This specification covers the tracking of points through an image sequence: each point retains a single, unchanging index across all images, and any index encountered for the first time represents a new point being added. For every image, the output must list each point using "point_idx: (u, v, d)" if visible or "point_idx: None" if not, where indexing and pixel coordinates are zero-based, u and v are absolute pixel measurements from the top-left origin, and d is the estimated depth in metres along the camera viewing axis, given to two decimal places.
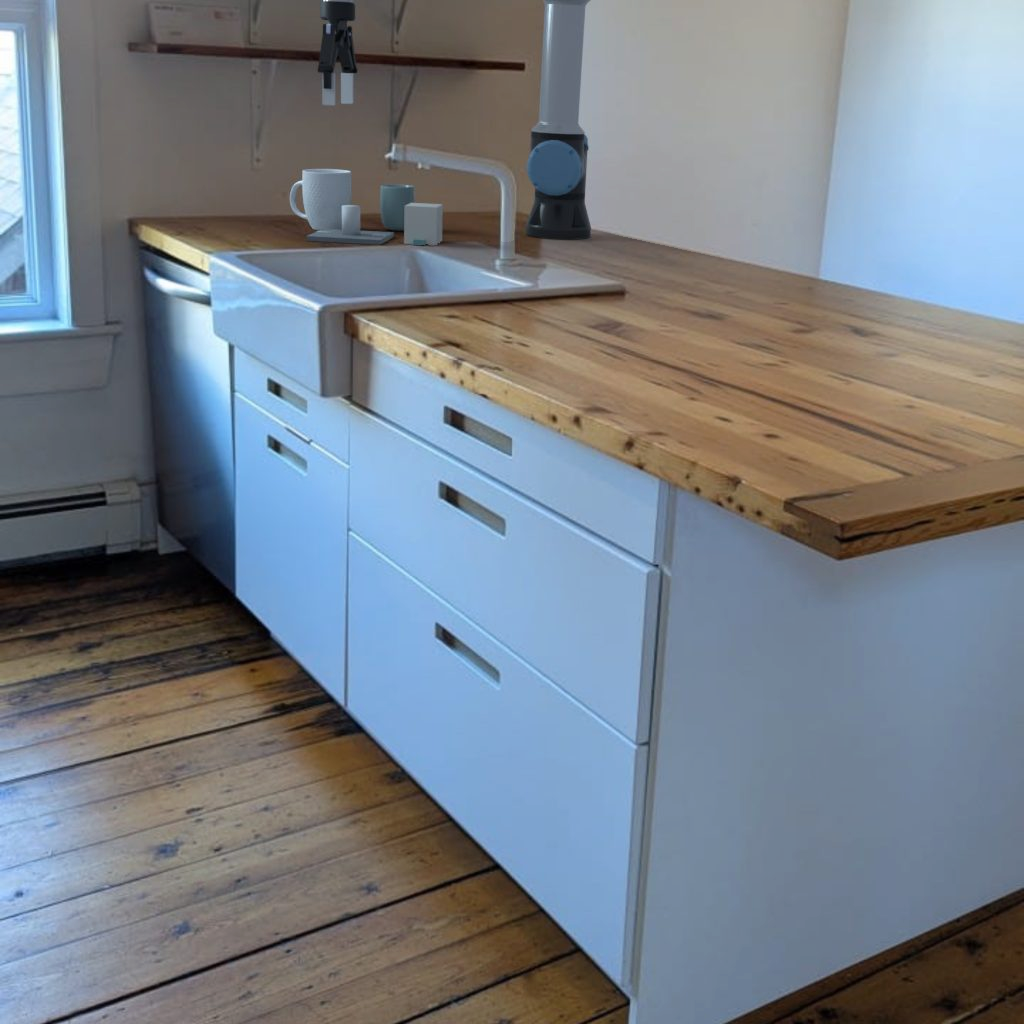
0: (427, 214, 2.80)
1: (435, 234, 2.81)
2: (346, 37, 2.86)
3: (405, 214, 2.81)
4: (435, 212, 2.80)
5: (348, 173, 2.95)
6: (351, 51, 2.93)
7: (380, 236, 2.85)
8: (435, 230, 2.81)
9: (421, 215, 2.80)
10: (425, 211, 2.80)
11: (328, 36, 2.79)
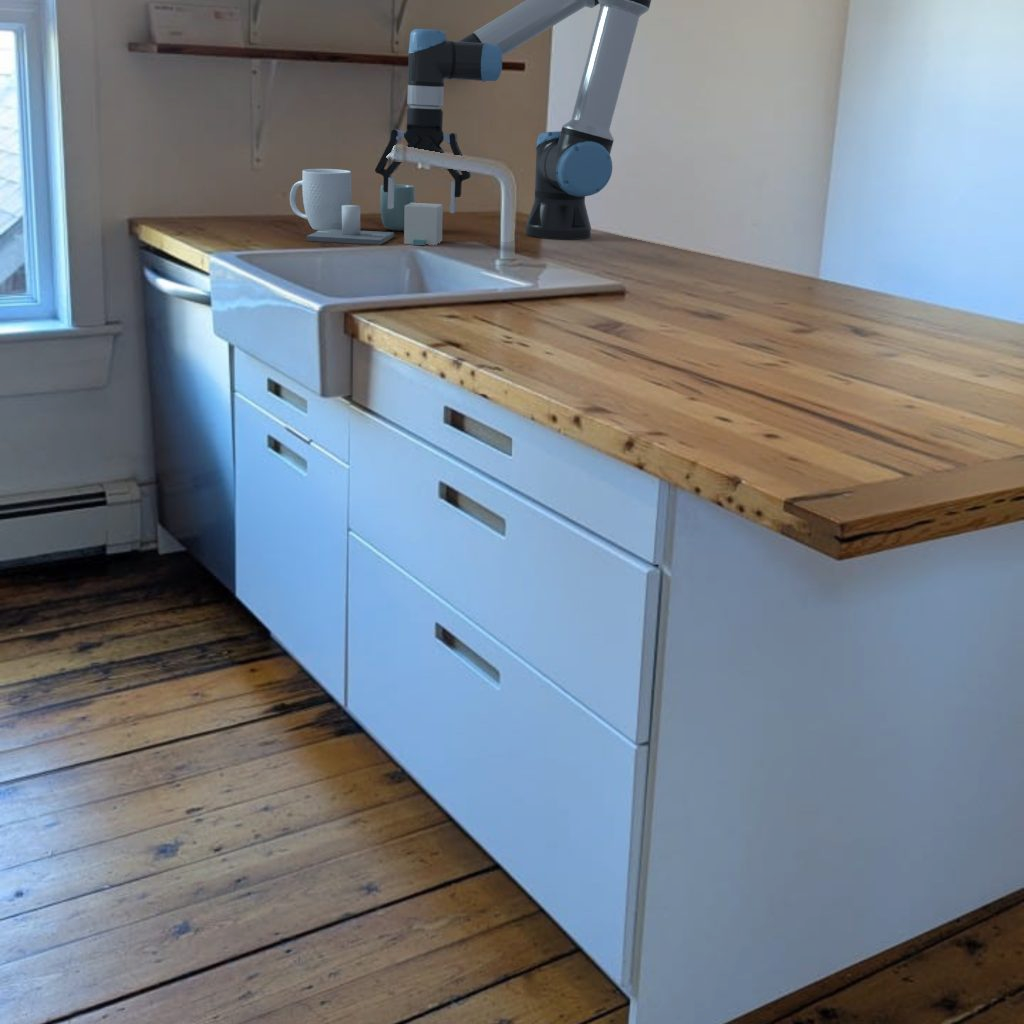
0: (427, 214, 2.80)
1: (435, 234, 2.81)
2: (428, 144, 2.77)
3: (405, 214, 2.81)
4: (435, 212, 2.80)
5: (348, 173, 2.95)
6: None
7: (380, 236, 2.85)
8: (435, 230, 2.81)
9: (421, 215, 2.80)
10: (425, 211, 2.80)
11: None
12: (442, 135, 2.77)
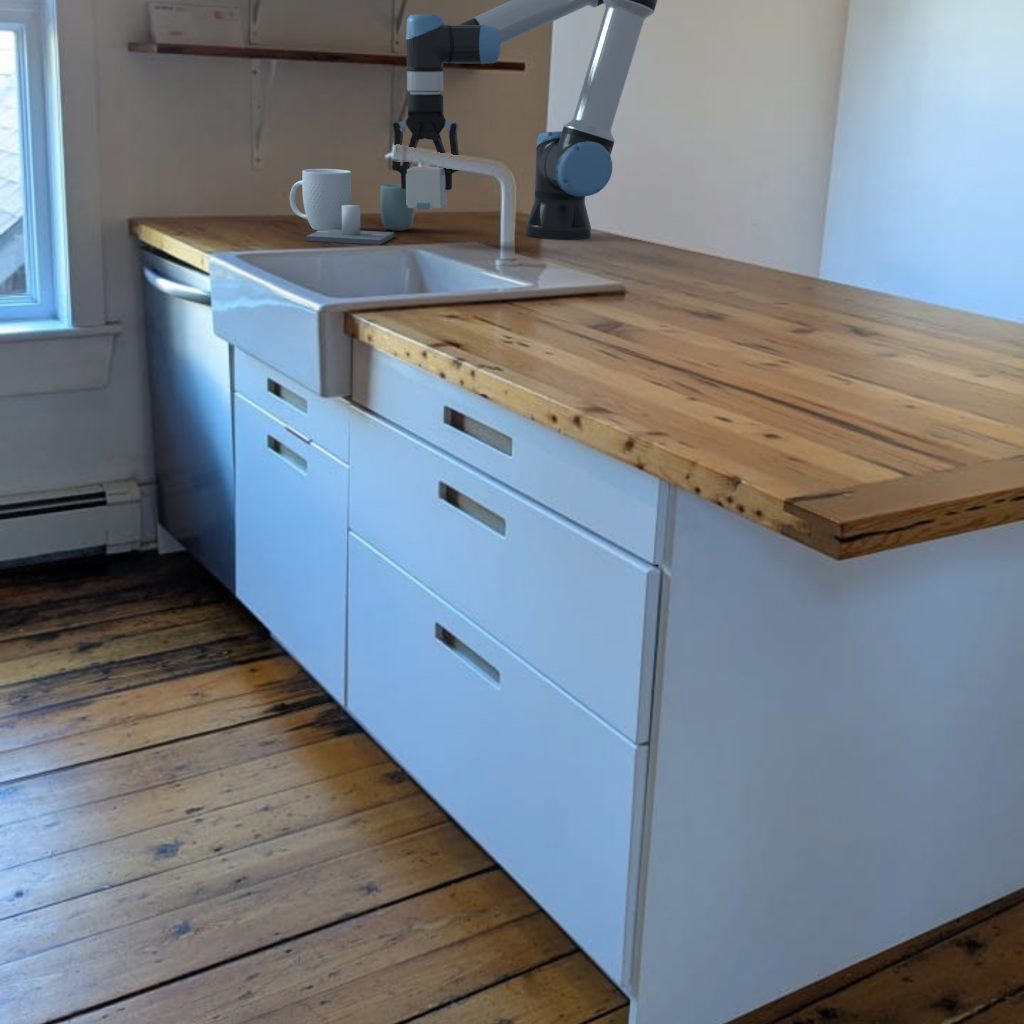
0: (430, 177, 2.78)
1: (438, 197, 2.79)
2: None
3: (408, 178, 2.78)
4: (438, 175, 2.77)
5: (348, 173, 2.95)
6: None
7: (380, 236, 2.85)
8: (438, 193, 2.79)
9: (424, 178, 2.78)
10: (428, 174, 2.78)
11: None
12: (444, 122, 2.76)
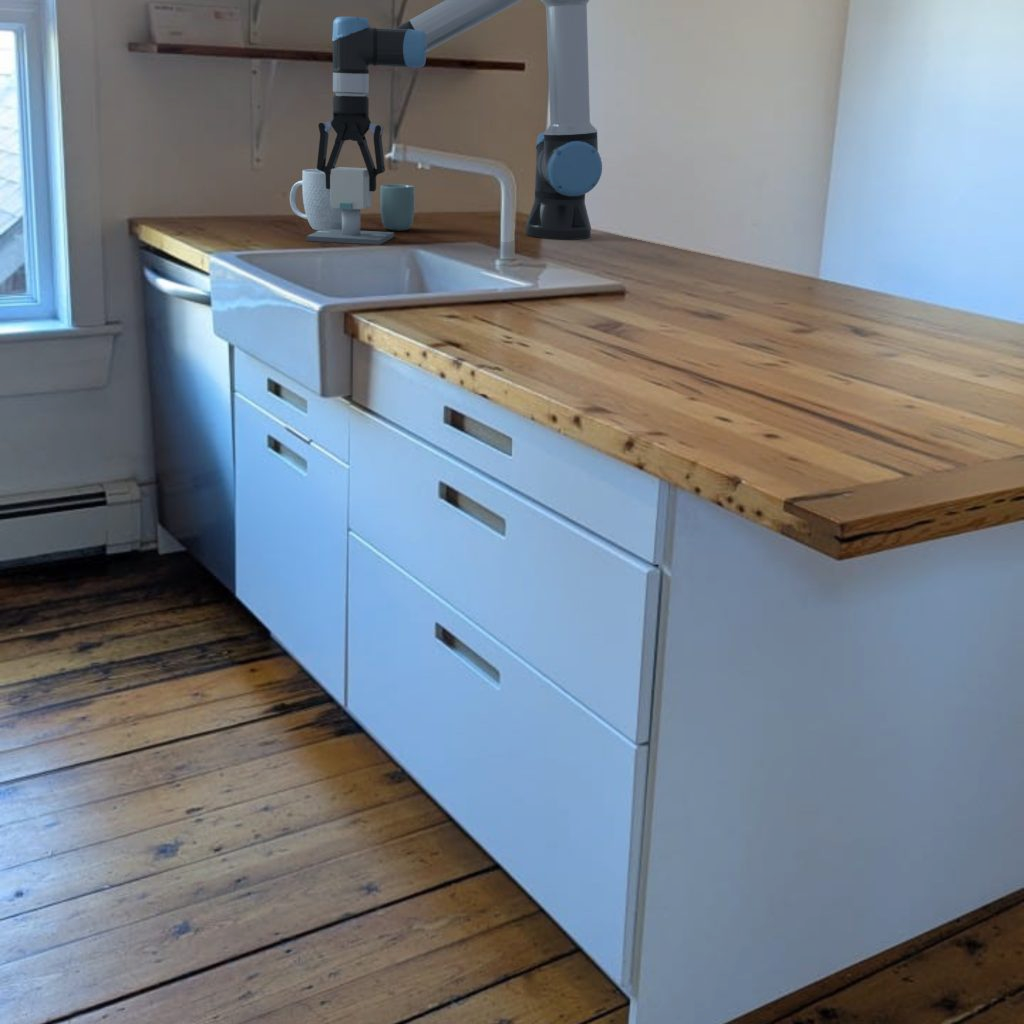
0: (354, 178, 2.80)
1: (362, 198, 2.81)
2: None
3: (331, 178, 2.80)
4: (361, 175, 2.79)
5: None
6: None
7: (380, 236, 2.85)
8: (362, 194, 2.80)
9: (347, 179, 2.80)
10: (351, 174, 2.79)
11: None
12: (369, 124, 2.78)
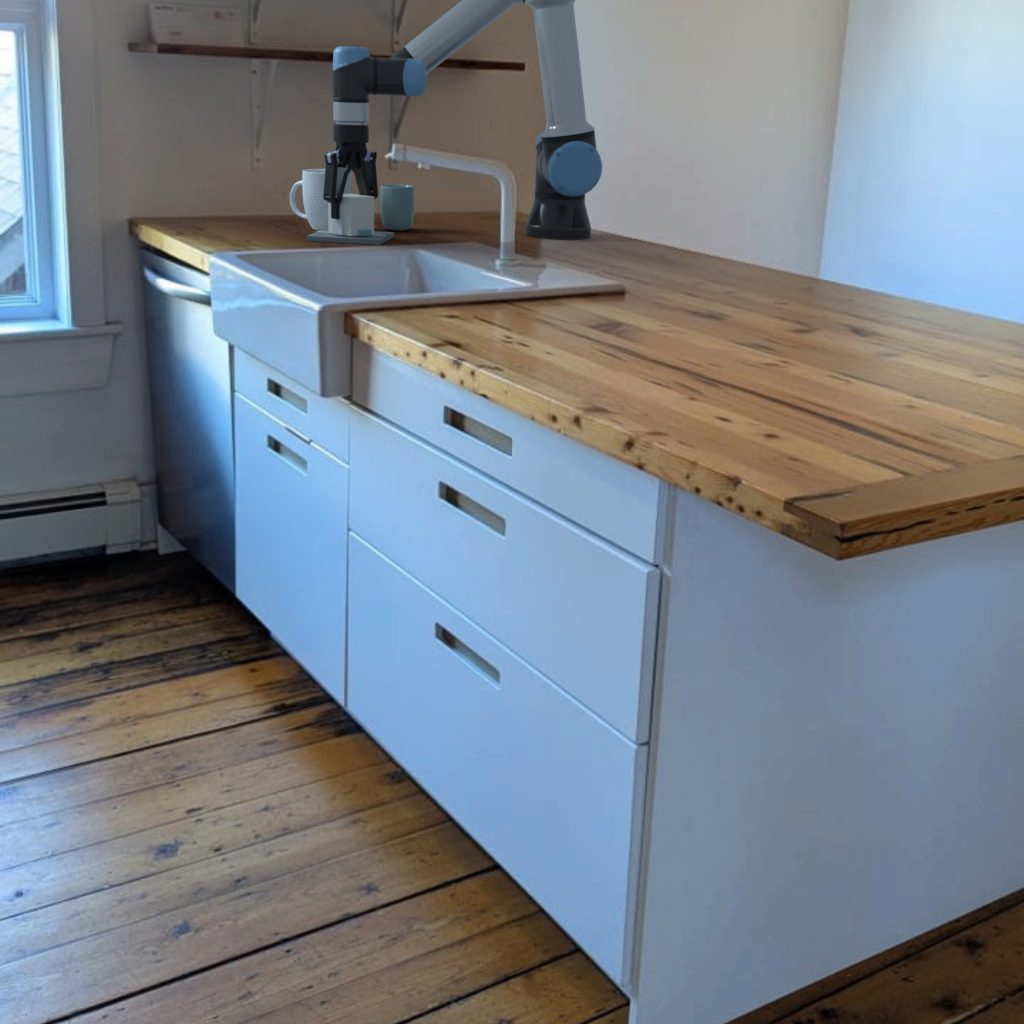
0: (367, 204, 2.84)
1: (373, 223, 2.86)
2: (359, 158, 2.81)
3: (351, 206, 2.80)
4: (373, 201, 2.85)
5: None
6: (371, 177, 2.87)
7: (380, 236, 2.85)
8: (373, 219, 2.86)
9: (363, 205, 2.83)
10: (366, 201, 2.83)
11: (330, 166, 2.77)
12: None
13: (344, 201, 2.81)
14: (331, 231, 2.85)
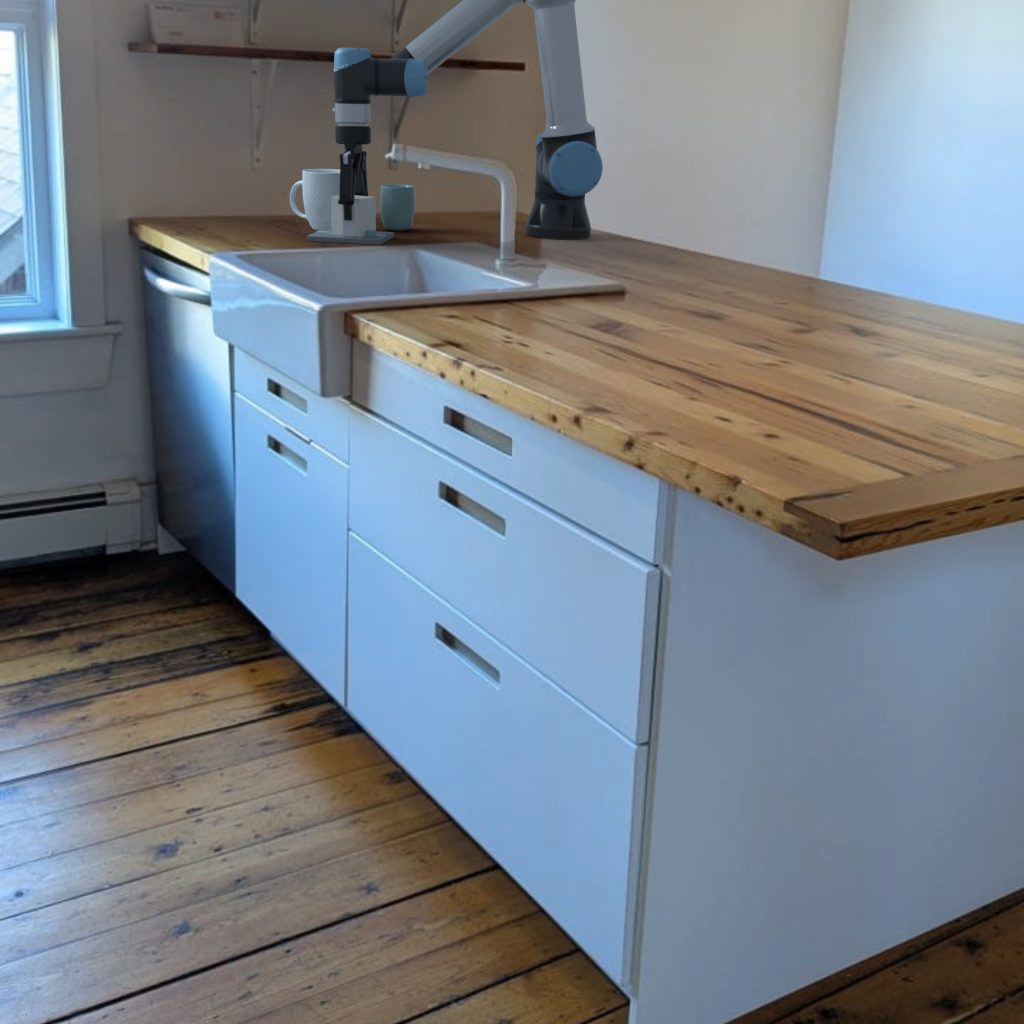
0: (371, 205, 2.84)
1: (375, 223, 2.87)
2: (361, 159, 2.82)
3: (360, 207, 2.80)
4: (375, 202, 2.86)
5: None
6: (364, 176, 2.88)
7: (380, 236, 2.85)
8: (375, 219, 2.87)
9: (368, 206, 2.83)
10: (370, 202, 2.84)
11: (346, 167, 2.76)
12: None
13: None
14: (335, 233, 2.84)
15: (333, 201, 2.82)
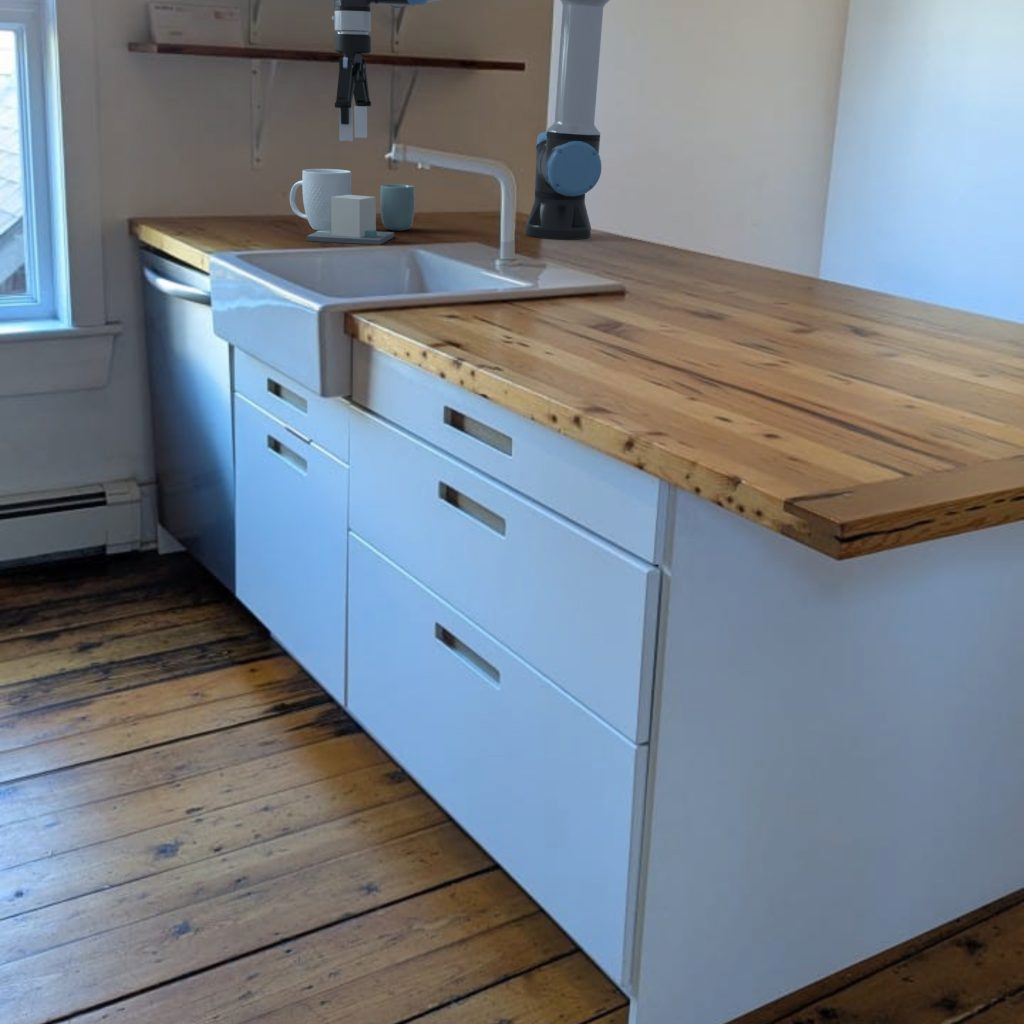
0: (371, 205, 2.84)
1: (375, 223, 2.87)
2: (361, 70, 2.77)
3: (360, 207, 2.80)
4: (375, 202, 2.86)
5: (348, 173, 2.95)
6: (365, 84, 2.84)
7: (380, 236, 2.85)
8: (375, 219, 2.87)
9: (368, 206, 2.83)
10: (370, 202, 2.84)
11: (345, 70, 2.70)
12: None
13: (351, 203, 2.81)
14: (335, 233, 2.84)
15: (333, 201, 2.82)
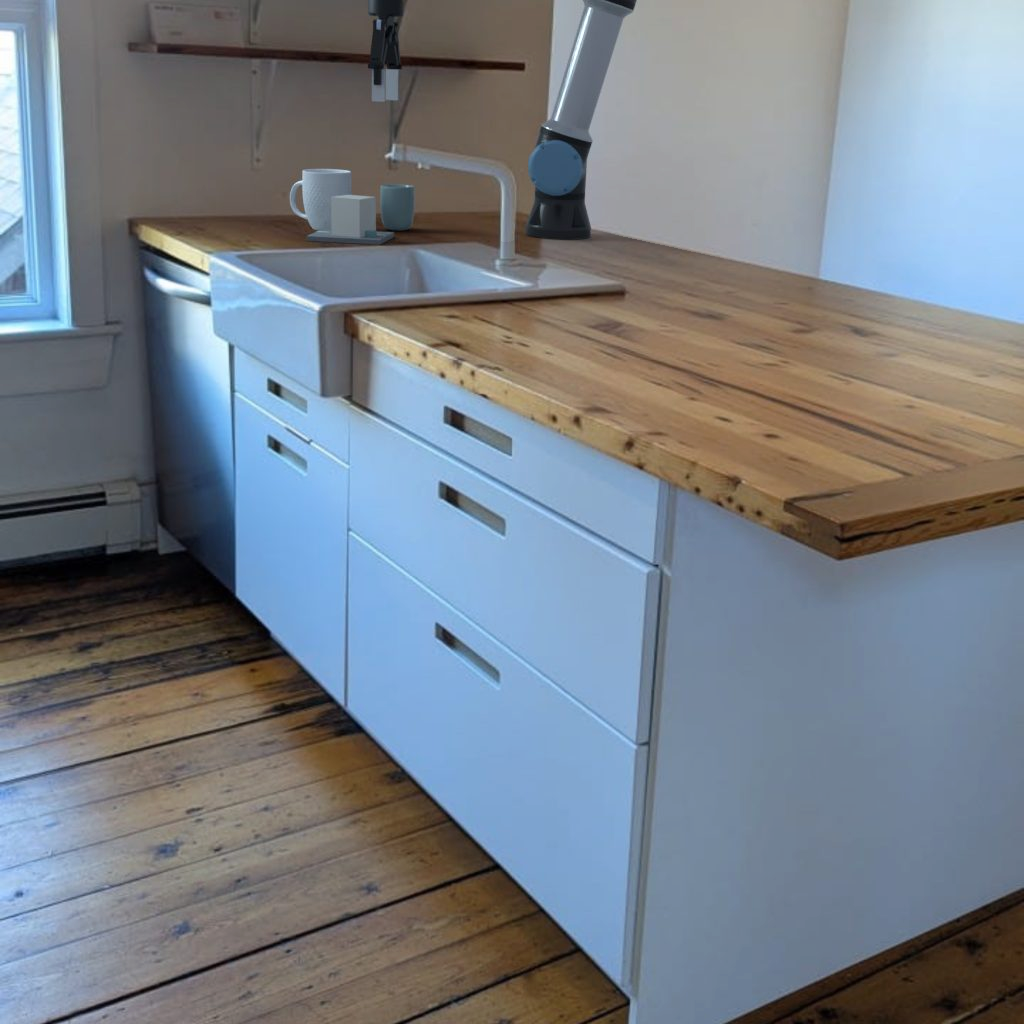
0: (371, 205, 2.84)
1: (375, 223, 2.87)
2: (394, 33, 2.84)
3: (360, 207, 2.80)
4: (375, 202, 2.86)
5: (348, 173, 2.95)
6: (396, 47, 2.91)
7: (380, 236, 2.85)
8: (375, 219, 2.87)
9: (368, 206, 2.83)
10: (370, 202, 2.84)
11: (378, 32, 2.77)
12: None
13: (351, 203, 2.81)
14: (335, 233, 2.84)
15: (333, 201, 2.82)
